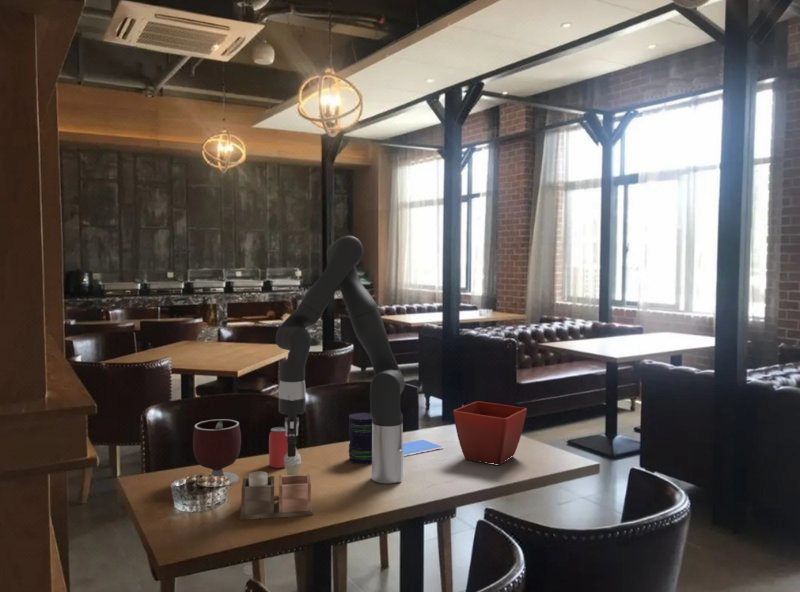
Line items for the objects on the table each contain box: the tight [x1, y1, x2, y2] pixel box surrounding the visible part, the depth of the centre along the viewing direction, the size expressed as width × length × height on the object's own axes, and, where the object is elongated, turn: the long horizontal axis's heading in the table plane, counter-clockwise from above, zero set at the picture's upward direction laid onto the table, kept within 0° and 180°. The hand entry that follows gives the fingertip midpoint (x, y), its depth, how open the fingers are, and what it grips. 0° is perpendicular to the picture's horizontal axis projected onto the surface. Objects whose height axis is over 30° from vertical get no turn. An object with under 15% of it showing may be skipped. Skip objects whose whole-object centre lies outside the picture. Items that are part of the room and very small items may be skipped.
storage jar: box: [348, 412, 372, 466], centre depth 215 cm, size 10×10×15 cm
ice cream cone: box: [284, 448, 303, 475], centre depth 185 cm, size 5×5×15 cm
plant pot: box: [453, 401, 528, 465], centre depth 218 cm, size 19×19×17 cm
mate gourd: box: [192, 418, 242, 486], centre depth 193 cm, size 16×14×20 cm
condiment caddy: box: [239, 470, 314, 521], centre depth 171 cm, size 18×9×10 cm, turn 100°
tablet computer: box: [402, 439, 444, 457], centre depth 229 cm, size 19×13×1 cm, turn 125°
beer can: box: [268, 426, 288, 469], centre depth 209 cm, size 7×7×12 cm
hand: (291, 451), depth 185 cm, fingers open, 8 cm apart
